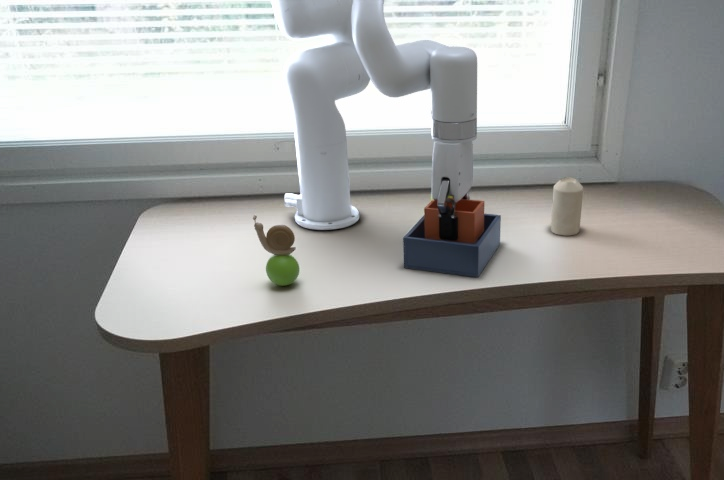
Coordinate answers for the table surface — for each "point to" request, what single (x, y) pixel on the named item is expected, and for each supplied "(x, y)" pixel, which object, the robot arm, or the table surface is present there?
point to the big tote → (451, 250)
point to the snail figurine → (279, 253)
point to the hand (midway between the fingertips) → (454, 230)
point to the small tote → (468, 220)
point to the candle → (566, 207)
